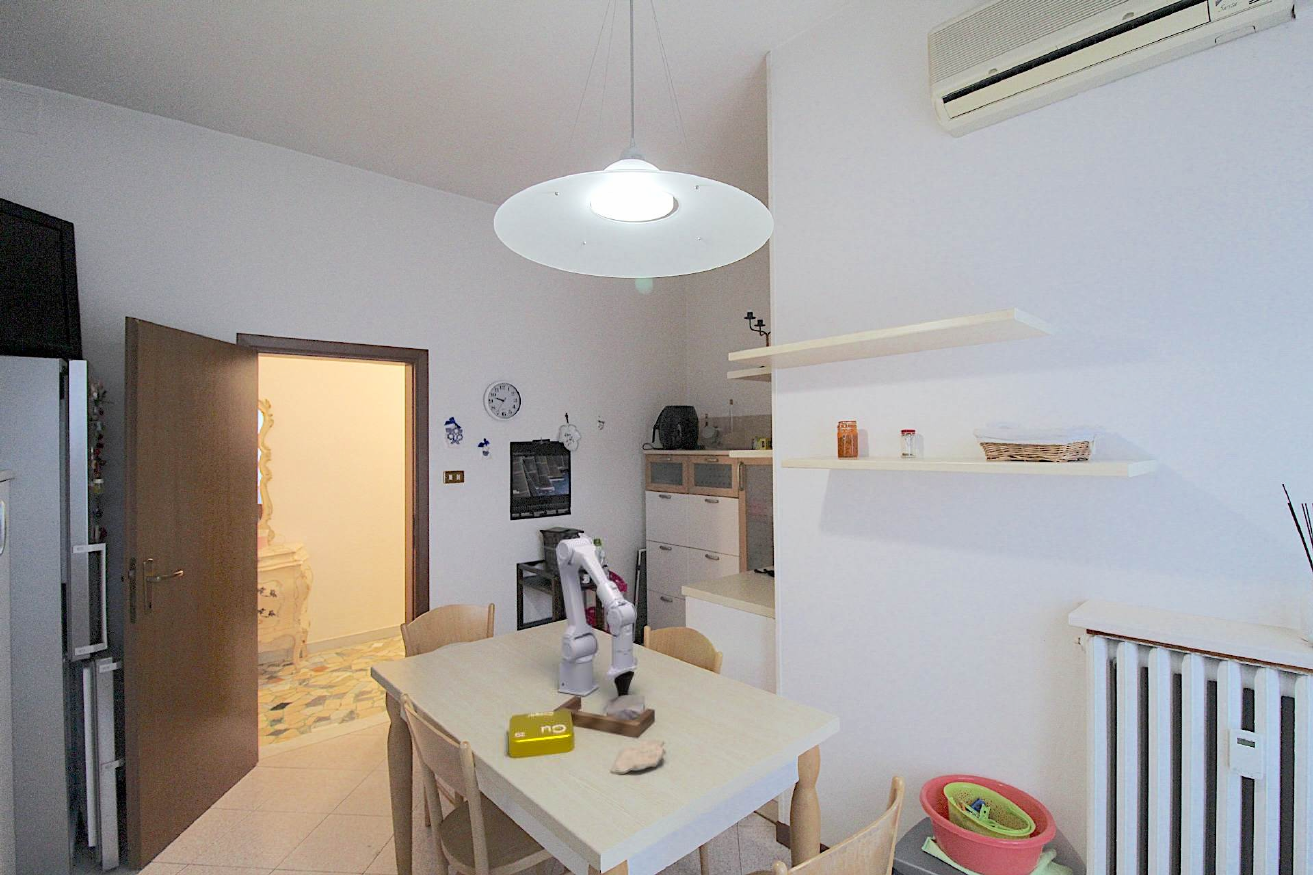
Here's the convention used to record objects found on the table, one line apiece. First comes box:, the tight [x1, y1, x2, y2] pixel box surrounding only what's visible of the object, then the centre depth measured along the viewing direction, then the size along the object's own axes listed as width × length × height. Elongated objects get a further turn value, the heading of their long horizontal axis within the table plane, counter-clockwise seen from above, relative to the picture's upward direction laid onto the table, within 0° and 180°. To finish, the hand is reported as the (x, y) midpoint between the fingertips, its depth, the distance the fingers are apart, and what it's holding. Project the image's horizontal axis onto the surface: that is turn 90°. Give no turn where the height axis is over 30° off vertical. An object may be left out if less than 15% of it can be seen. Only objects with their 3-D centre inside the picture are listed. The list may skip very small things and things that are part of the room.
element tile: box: [508, 710, 575, 759], centre depth 150 cm, size 15×15×5 cm
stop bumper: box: [553, 695, 656, 739], centre depth 160 cm, size 24×10×3 cm, turn 65°
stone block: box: [606, 694, 645, 721], centre depth 163 cm, size 12×5×10 cm
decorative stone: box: [610, 738, 666, 775], centre depth 139 cm, size 11×4×15 cm
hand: (622, 699), depth 170 cm, fingers closed, pressing on stone block
